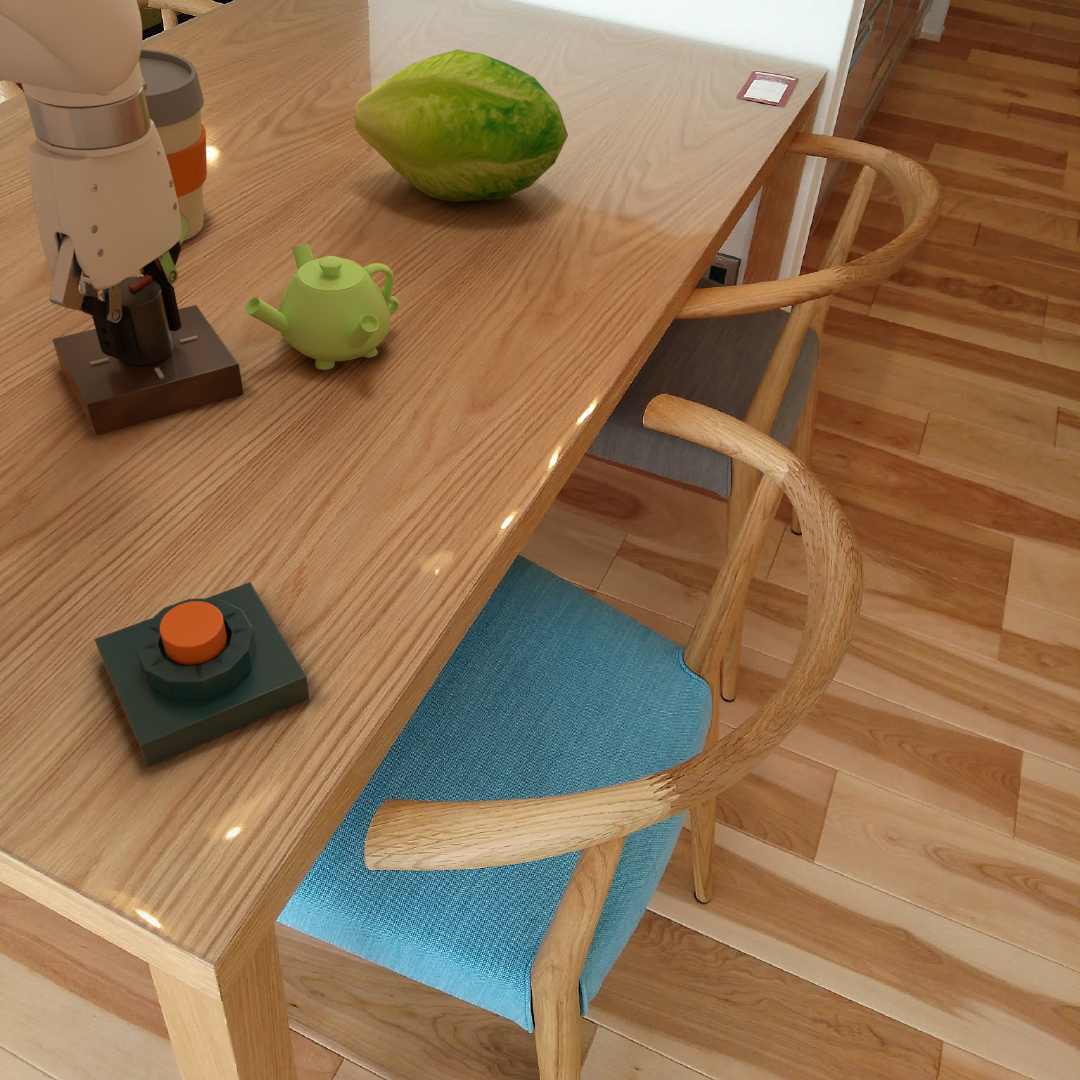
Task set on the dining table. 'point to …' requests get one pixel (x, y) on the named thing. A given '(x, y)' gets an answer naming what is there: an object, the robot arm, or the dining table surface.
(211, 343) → the dial panel
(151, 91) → the reusable coffee cup
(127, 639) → the button housing
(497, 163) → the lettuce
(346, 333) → the teapot
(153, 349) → the dial
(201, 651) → the orange push button
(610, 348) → the dining table surface
